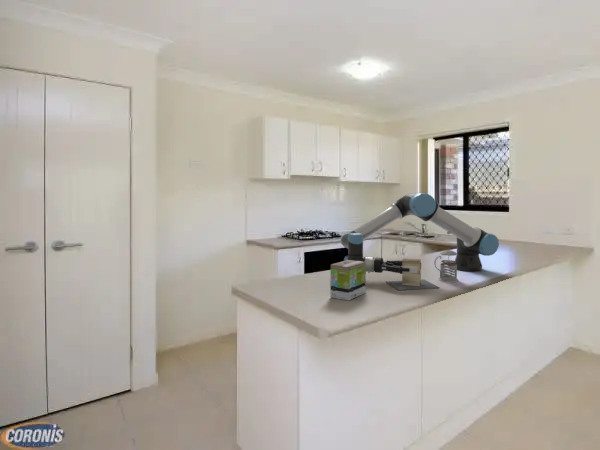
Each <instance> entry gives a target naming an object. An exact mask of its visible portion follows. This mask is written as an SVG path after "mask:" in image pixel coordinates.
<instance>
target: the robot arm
mask: <svg viewBox="0 0 600 450" xmlns="http://www.w3.org/2000/svg"><path fill="white" fill-rule="evenodd" d="M407 216H415V217H416V218H419V219H420V220H422V221H424V222H431V223H432V224H434V225H436V226H438V227H439V228H441V229H442V230H444V231H446V233H447V232H448V231H450V232H451V234H450V235H453V236H454V237H456V253H457V255H455V259H454V261H456V263H454V264H457V271H463V272H478V271H479V272H480V271H482V270H483V265H482V261H481V258H480V255H482V256H493V255H494V254H495V253H496V252H497V251H498V249H499V246H500V242H499V241H500V240H499V238H498V237H497V236H496V235H495V234H493V233H488V232H486V231H484V230H483V229H481V228H479V227H476V226H475V227H472V225H471V226H470V225H469V224H467V223H466V222H464V221H462V220H461V219H460V218H458V217H456V216H455V215H453V214H451V213H450V212H448V211H447V210H445V209H443V208H441V207H440V204H439V202H438V201H436V200H435V198H434V197H433V196H432V195H431V194H428V193H427V192H426V193H425V192H417V193H416V192H415V193H413V192H412V193H408V194H406V195H403V196H402V197H400V198H399V199H397V200H396V201H394V202H392V203H391V204H390V207H389V208H387V209H384V211H382V212H380V213H379V214H377V215H376V216H373V218H371V219H369V220H367V221H366V222H364V223H363V224H361V225H360V226H359V227H357V228H355V229H353V230H352V231H351V232H349V233H345V234H342V236H341V237H340V244H341V245H342V247H344V248H346V249H347V251H348V253H347V254H348V255H346V256H344V258H343V261H345V260H354V261H362V262H366V273H368V274H370V273H380V274H381V273H383V272H390V273H391V272H392V273H395V274H400V275H402V271H403V272H406V273H417V267H407V266H403V268H402V260H403V259H402V260H400V259H399V260H386V261H384V258H383V257H378V256H377V257H374V256H364V241H365V240H366V239H368V238H369V237H371V236H373V235H374V234H376V233H378V232H379V231H381V230H382V229H384V228H386V227H387V226H388V225H390V224H391V223H393V222H395V221H396V220H398V219H399V220H401V219H403V218H404V217H405V218H406V217H407Z"/></svg>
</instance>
